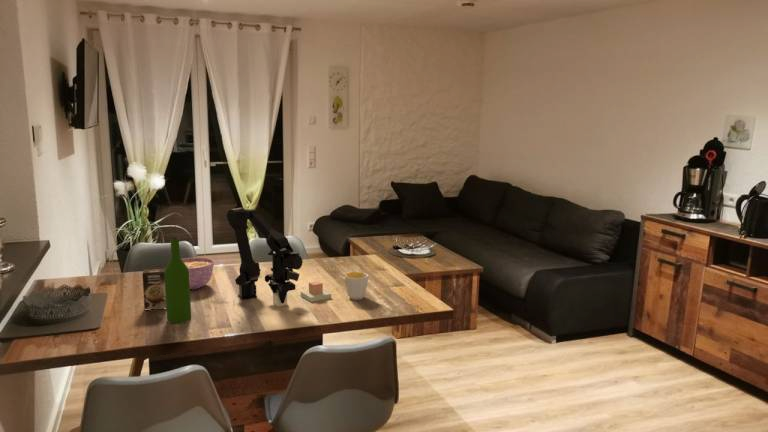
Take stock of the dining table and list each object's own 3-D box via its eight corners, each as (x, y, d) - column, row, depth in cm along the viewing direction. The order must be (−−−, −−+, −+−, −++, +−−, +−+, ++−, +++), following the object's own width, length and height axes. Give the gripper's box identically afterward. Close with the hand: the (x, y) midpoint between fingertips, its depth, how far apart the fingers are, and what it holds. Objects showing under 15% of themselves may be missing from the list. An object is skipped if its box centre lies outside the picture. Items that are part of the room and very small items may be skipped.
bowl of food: (221, 281, 280) (220, 258, 278) (205, 294, 261) (203, 269, 259) (181, 279, 282) (180, 256, 280) (162, 292, 263) (160, 267, 261)
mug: (371, 300, 255) (371, 276, 253) (349, 302, 251) (349, 279, 249) (361, 291, 267) (361, 268, 266) (339, 293, 264) (339, 271, 262)
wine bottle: (183, 314, 236) (178, 235, 230) (195, 319, 230) (191, 238, 224) (162, 320, 229) (157, 238, 223) (175, 325, 223) (170, 242, 218)
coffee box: (144, 311, 239) (141, 273, 236) (146, 306, 245) (143, 269, 242) (167, 309, 241) (165, 271, 238) (169, 304, 247) (166, 267, 244)
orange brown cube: (313, 294, 255) (313, 285, 254) (308, 292, 259) (308, 282, 258) (322, 293, 257) (322, 283, 257) (318, 290, 261) (317, 280, 260)
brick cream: (277, 306, 246) (277, 296, 245) (273, 303, 250) (272, 293, 249) (287, 304, 248) (287, 294, 248) (282, 301, 252) (282, 291, 251)
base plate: (310, 302, 252) (310, 297, 251) (300, 296, 260) (300, 291, 259) (331, 298, 257) (331, 293, 257) (320, 292, 265) (320, 288, 265)
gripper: (306, 268, 243) (307, 304, 246) (287, 258, 258) (288, 292, 261) (281, 272, 237) (282, 309, 240) (263, 262, 252) (264, 297, 255)
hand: (280, 301), depth 249 cm, fingers closed on brick cream, 4 cm apart
